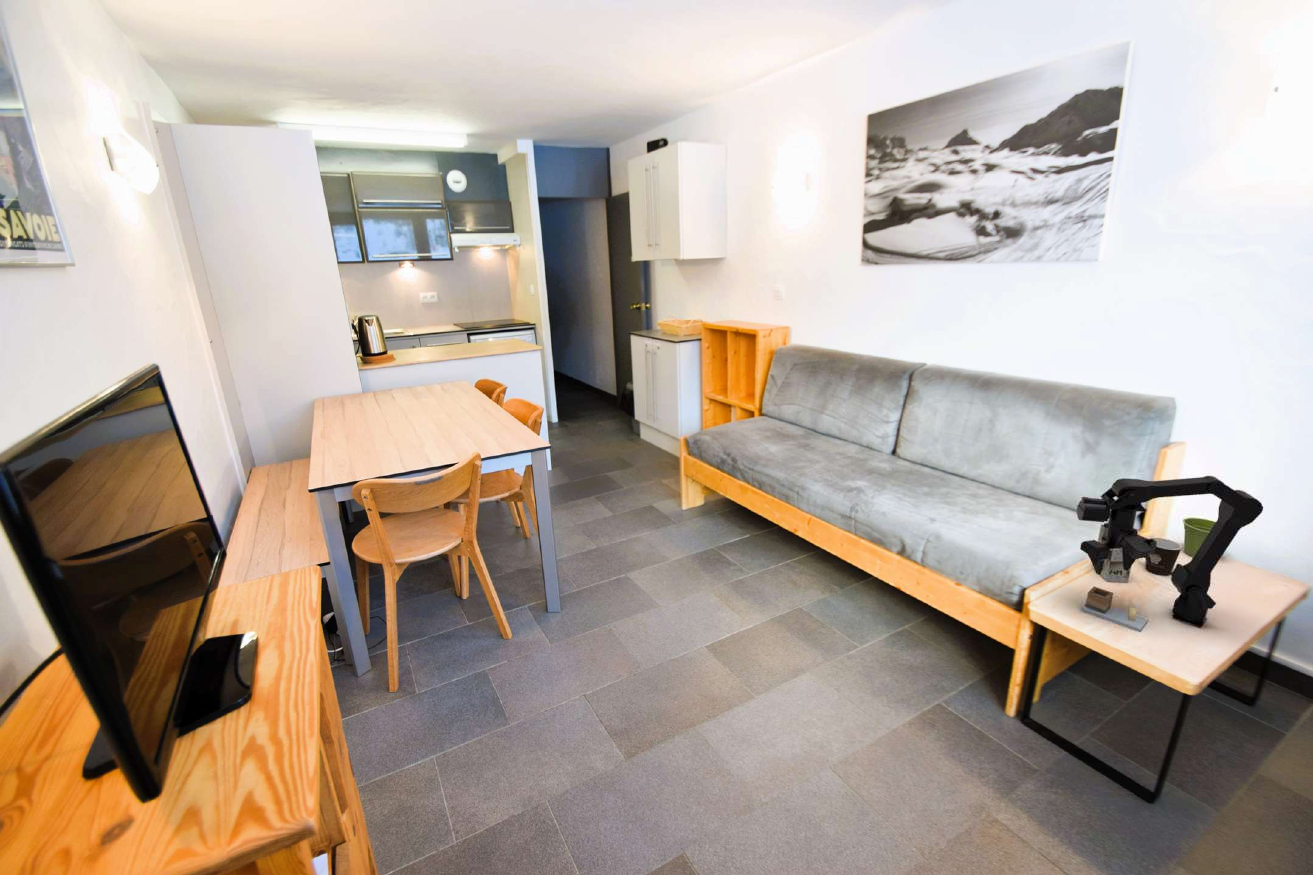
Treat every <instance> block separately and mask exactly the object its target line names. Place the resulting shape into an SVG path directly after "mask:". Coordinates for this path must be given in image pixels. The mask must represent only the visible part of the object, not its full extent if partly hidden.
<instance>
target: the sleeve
mask: <svg viewBox="0 0 1313 875" xmlns="http://www.w3.org/2000/svg"><path fill="white" fill-rule="evenodd" d="M1113 597H1114V592H1111V591H1109V590H1106V589H1103V588H1100V587H1097V586H1093V587H1092V588H1091V589H1090V590H1089V591H1087V596H1086V602H1085V604H1086V605H1085V604H1084V605H1085V607H1086V608H1089V609H1092V610H1095V611H1097V612H1100V613H1103V614H1105V613H1106V612H1107V611H1108V610H1109V609H1110V607H1112V602H1113Z"/></svg>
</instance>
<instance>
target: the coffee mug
mask: <svg viewBox="0 0 1313 875" xmlns="http://www.w3.org/2000/svg"><path fill="white" fill-rule="evenodd" d="M1147 539H1154V540H1155V541H1156V542H1157V545H1156V549H1155V552H1154V553H1150V554H1149V555H1148V557H1147V558H1144V559H1145V567H1144V569H1145V570H1146V571H1147V572H1148V573H1150V574H1153V575H1155V576H1161V577H1169V576H1171V575H1170V573H1172V572H1173V571H1174V567H1175V566H1176V565H1175V564H1176V562H1177V560H1178V558H1179V555H1180V552H1181V550H1182V548H1183V546H1182V545H1181V544H1180V543H1179V542H1177V541H1174V540H1170V539H1169V538H1168V539H1167V538H1162V537H1148V538H1147Z"/></svg>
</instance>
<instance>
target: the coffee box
mask: <svg viewBox="0 0 1313 875" xmlns="http://www.w3.org/2000/svg"><path fill="white" fill-rule="evenodd" d="M1106 532H1107V528H1106V527H1104V524H1100V528H1099V533H1098V538H1097V541H1098V542H1100V543H1102V544H1104V543H1105V541H1104V540H1102V539H1101V538H1102V536H1106ZM1107 557H1109V559H1107V560H1105V561H1104V565H1103V568H1102V572H1101V574H1100V575H1099V576H1101V578H1103V579H1104V580H1105V581H1106V582H1112V583H1113V582H1114V583H1124V584H1125V583H1126V584H1127V583H1128V582H1129V578H1130V573H1131V569H1132V566H1131V567H1130V569H1129V570H1128V571H1126V570H1124V569H1123V558H1122V549H1116V550H1110V554H1109V555H1108V556H1107Z"/></svg>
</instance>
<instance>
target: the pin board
mask: <svg viewBox="0 0 1313 875" xmlns="http://www.w3.org/2000/svg"><path fill="white" fill-rule="evenodd" d="M1085 605H1086V603H1084V604H1083V605H1082V607H1081V608H1080V610H1081V612H1083V613H1085V614H1089V615H1091V616H1095V617H1097V618H1101V619H1102V620H1105V621H1108V622H1111V623H1114V624H1116V625H1119V626H1122V627H1125V628H1127V629H1130V630H1133V631H1136V632H1138V633H1141V632H1142V631H1143V630H1144V628H1145V627H1146V626H1147V624H1148V622H1149V619H1148V618H1145V617H1143V616H1141V615H1138V614H1137V613H1138V608H1136V607H1133V606H1131V607H1129V610H1128V611H1125V610H1123V609H1120V608H1117V607H1114V606H1111V607H1110V609H1109V610H1108V611H1107V612H1106V613H1105V614H1103V613H1100V612H1097V611H1095V610H1092V609H1089V608H1086V607H1085Z"/></svg>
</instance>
